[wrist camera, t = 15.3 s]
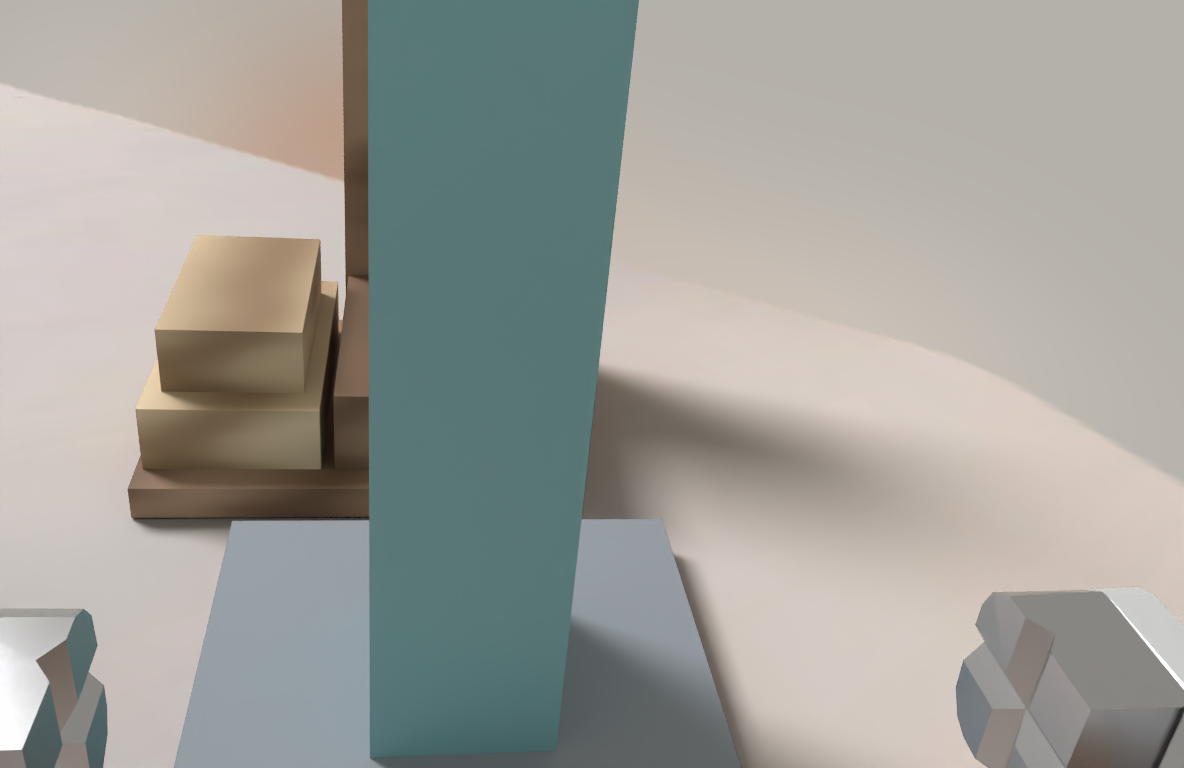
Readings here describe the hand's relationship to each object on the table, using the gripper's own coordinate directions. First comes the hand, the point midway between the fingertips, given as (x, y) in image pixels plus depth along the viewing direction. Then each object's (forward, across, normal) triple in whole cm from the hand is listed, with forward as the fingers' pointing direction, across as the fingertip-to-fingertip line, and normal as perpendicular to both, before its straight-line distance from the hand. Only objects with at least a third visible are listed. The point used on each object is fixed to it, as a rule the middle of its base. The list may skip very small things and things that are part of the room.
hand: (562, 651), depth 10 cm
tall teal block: (+12, 0, +12) cm, 17 cm away
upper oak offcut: (+25, +6, +10) cm, 28 cm away
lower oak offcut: (+25, +6, +12) cm, 28 cm away
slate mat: (+12, 0, +13) cm, 18 cm away
